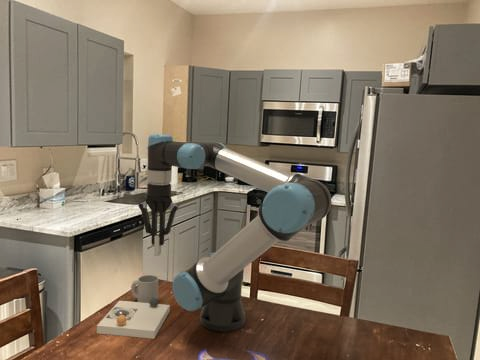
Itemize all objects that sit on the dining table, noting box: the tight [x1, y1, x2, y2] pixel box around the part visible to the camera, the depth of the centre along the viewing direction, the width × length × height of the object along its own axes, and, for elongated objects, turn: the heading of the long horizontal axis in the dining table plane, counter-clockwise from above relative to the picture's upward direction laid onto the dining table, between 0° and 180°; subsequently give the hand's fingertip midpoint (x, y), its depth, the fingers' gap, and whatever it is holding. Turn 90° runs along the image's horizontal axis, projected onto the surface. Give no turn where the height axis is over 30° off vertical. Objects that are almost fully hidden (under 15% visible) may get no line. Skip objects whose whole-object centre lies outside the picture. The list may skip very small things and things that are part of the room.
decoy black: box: [149, 298, 159, 307], centre depth 138 cm, size 3×3×3 cm
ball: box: [115, 310, 126, 316], centre depth 132 cm, size 4×4×4 cm
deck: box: [96, 300, 171, 340], centre depth 132 cm, size 18×18×2 cm
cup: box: [130, 274, 159, 303], centre depth 147 cm, size 7×10×9 cm
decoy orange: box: [117, 315, 127, 325], centre depth 125 cm, size 3×3×3 cm
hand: (157, 254), depth 132 cm, fingers closed
